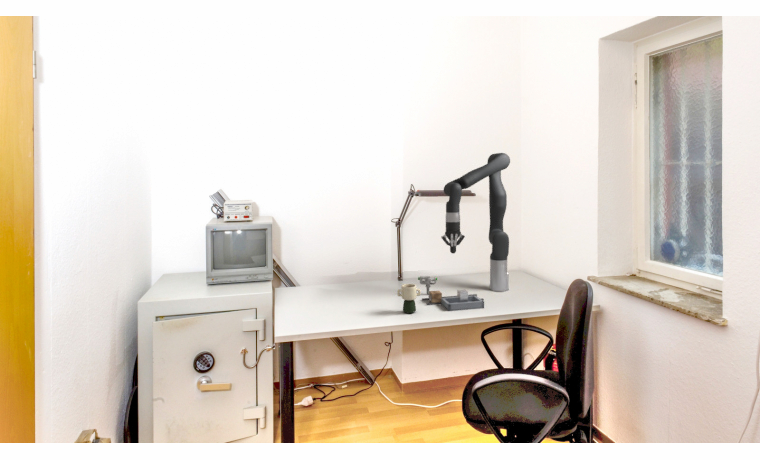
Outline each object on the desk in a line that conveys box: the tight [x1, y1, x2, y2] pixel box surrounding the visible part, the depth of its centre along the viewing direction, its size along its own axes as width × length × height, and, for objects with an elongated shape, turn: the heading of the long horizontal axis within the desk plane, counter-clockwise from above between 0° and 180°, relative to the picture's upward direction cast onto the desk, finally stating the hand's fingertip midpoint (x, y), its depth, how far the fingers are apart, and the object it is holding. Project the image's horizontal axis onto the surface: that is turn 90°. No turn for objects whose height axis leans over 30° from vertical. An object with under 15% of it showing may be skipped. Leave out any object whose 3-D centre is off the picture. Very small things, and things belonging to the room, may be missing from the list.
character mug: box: [397, 283, 422, 314], centre depth 199 cm, size 11×7×13 cm, turn 92°
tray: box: [440, 295, 485, 312], centre depth 206 cm, size 18×11×4 cm, turn 100°
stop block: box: [456, 288, 469, 303], centre depth 205 cm, size 4×4×7 cm
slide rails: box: [421, 293, 485, 306], centre depth 217 cm, size 30×10×1 cm, turn 100°
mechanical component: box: [417, 275, 438, 296], centre depth 228 cm, size 3×10×10 cm, turn 78°
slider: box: [428, 290, 443, 303], centre depth 215 cm, size 6×5×5 cm
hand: (453, 253), depth 224 cm, fingers closed
